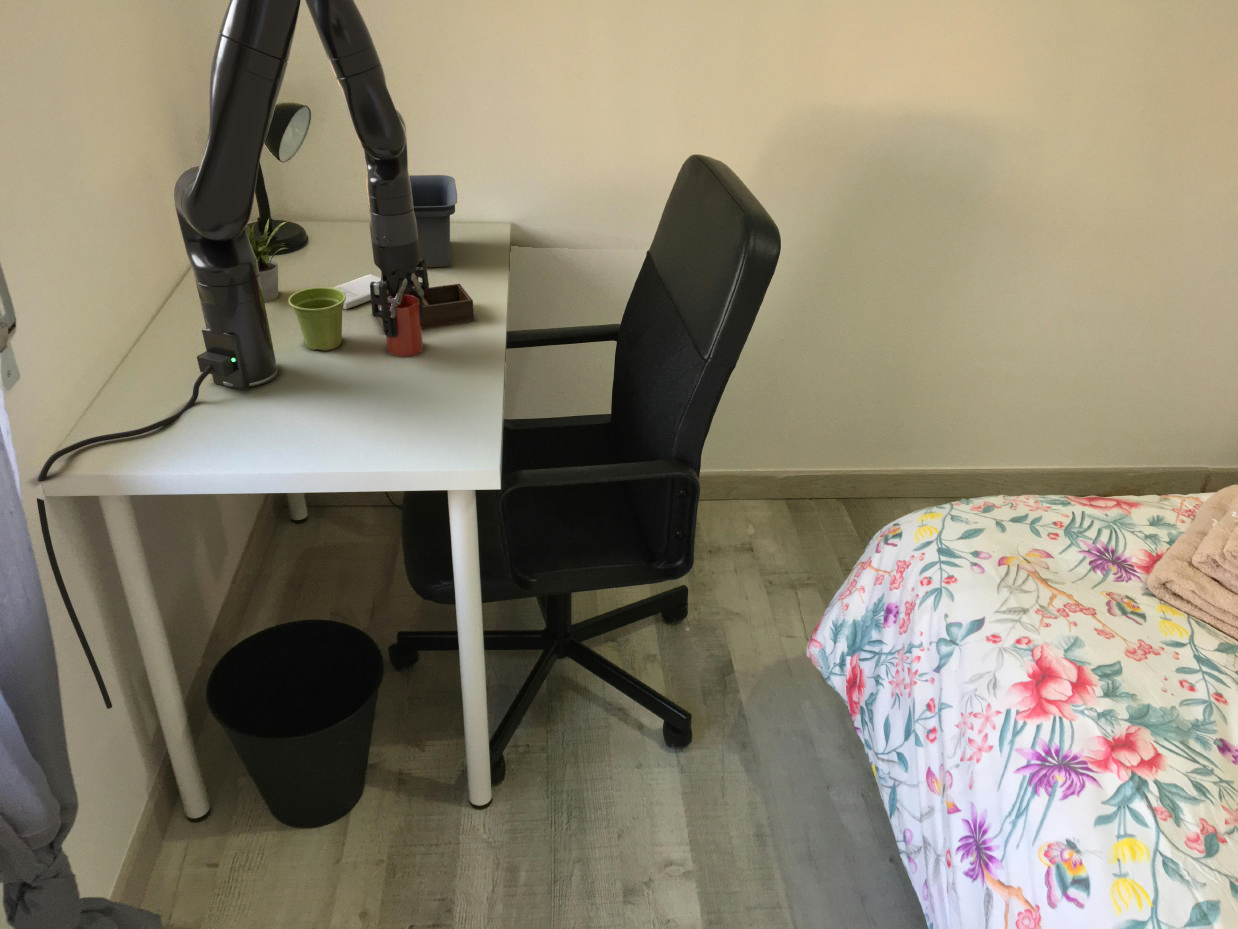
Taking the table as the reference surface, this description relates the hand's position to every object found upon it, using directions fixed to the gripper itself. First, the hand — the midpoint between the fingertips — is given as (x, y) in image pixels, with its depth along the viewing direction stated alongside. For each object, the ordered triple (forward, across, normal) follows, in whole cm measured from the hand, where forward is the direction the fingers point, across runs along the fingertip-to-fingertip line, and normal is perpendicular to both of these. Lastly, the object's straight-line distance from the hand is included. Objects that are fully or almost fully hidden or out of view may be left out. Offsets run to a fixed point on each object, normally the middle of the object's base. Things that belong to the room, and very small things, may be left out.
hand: (404, 326), depth 157 cm
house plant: (+4, -8, -38) cm, 39 cm away
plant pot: (+4, +5, -14) cm, 15 cm away
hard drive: (+4, -16, -21) cm, 27 cm away
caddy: (+4, -12, -4) cm, 14 cm away
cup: (+4, 0, 0) cm, 4 cm away
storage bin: (+5, -41, -20) cm, 46 cm away
